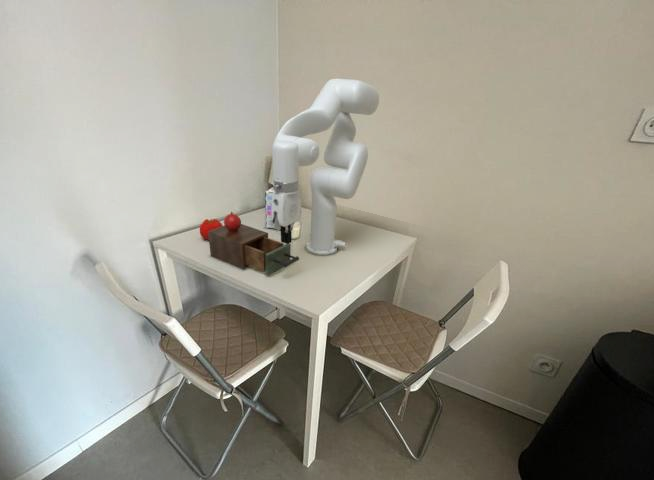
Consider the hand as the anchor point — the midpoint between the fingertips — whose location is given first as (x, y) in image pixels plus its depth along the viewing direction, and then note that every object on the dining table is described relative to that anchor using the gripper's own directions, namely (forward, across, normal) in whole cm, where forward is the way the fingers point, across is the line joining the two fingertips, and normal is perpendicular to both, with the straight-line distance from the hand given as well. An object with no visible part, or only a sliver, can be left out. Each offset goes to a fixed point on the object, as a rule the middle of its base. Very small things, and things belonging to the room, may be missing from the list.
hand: (286, 242), depth 114 cm
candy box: (+13, +35, +33) cm, 50 cm away
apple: (+2, 0, +24) cm, 24 cm away
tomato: (+12, +4, +42) cm, 44 cm away
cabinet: (+12, -1, +22) cm, 25 cm away
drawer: (+11, -1, +7) cm, 13 cm away
